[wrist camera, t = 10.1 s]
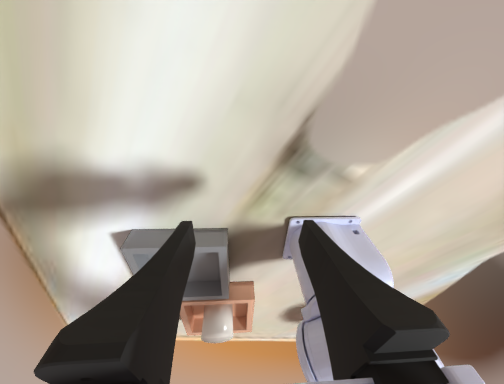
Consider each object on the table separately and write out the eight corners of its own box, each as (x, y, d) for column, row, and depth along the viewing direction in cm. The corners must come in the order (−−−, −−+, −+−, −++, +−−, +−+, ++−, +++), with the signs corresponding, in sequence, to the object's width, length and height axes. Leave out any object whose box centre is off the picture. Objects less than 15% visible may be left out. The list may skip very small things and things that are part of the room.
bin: (227, 228, 25) (226, 246, 23) (229, 280, 32) (228, 298, 29) (132, 229, 24) (120, 248, 22) (154, 283, 31) (147, 302, 29)
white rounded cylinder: (228, 295, 33) (228, 328, 29) (235, 307, 36) (236, 339, 32) (200, 300, 33) (196, 334, 29) (209, 312, 36) (206, 345, 32)
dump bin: (253, 281, 33) (254, 299, 30) (250, 314, 39) (251, 331, 37) (180, 283, 32) (175, 302, 29) (190, 317, 38) (187, 335, 36)
